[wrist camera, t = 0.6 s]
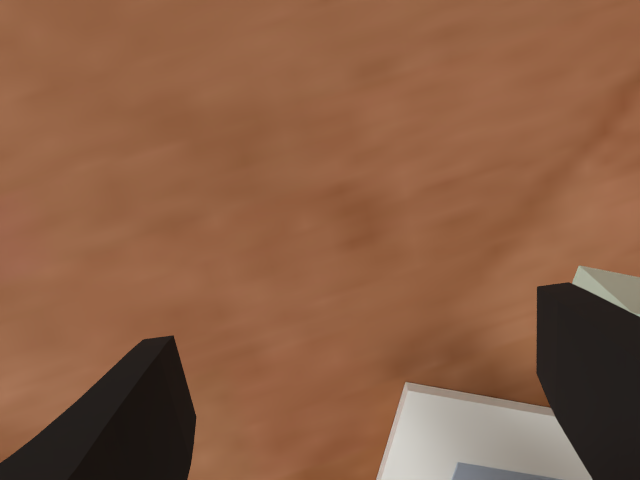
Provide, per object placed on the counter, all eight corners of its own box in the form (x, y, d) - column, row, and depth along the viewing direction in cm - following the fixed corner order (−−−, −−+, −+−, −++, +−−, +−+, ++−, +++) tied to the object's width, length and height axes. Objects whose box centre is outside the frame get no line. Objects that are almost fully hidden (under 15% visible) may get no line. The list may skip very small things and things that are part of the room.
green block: (638, 376, 24) (700, 441, 20) (542, 358, 24) (587, 421, 20) (678, 284, 23) (752, 336, 19) (578, 264, 22) (632, 313, 19)
